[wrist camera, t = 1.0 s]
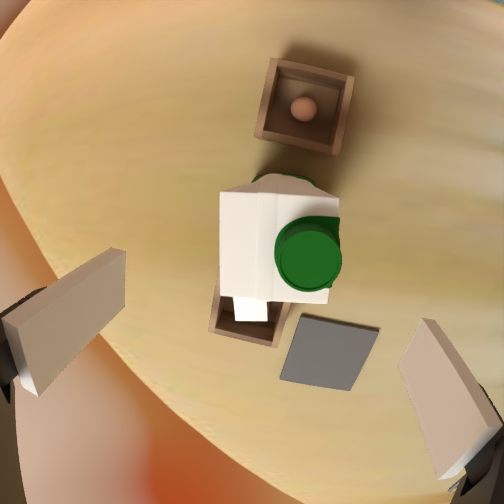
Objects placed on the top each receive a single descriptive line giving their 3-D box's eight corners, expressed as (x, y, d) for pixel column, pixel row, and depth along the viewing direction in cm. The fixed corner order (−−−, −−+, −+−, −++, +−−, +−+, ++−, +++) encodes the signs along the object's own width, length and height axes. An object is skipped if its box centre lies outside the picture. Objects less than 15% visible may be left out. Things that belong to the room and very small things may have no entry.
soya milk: (315, 242, 38) (337, 327, 19) (244, 238, 39) (202, 316, 20) (321, 173, 35) (356, 192, 16) (246, 169, 36) (199, 184, 17)
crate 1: (227, 252, 40) (218, 267, 35) (295, 268, 39) (295, 285, 34) (217, 311, 43) (208, 331, 38) (279, 325, 42) (277, 348, 37)
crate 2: (273, 71, 32) (270, 57, 27) (346, 87, 32) (355, 77, 26) (258, 139, 35) (253, 136, 30) (331, 155, 34) (338, 155, 29)
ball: (293, 96, 32) (293, 91, 29) (318, 102, 32) (320, 98, 29) (288, 120, 33) (288, 116, 30) (313, 125, 33) (315, 123, 30)
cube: (238, 279, 40) (232, 292, 36) (268, 278, 40) (266, 292, 36) (240, 306, 41) (235, 320, 38) (269, 306, 41) (267, 321, 37)
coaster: (300, 314, 41) (300, 316, 41) (378, 330, 41) (379, 332, 40) (279, 377, 45) (279, 379, 45) (349, 388, 45) (349, 390, 44)
